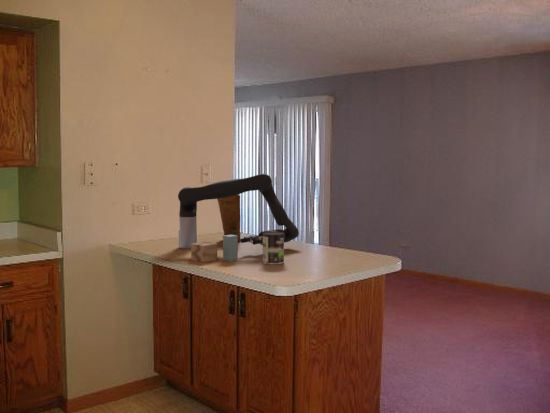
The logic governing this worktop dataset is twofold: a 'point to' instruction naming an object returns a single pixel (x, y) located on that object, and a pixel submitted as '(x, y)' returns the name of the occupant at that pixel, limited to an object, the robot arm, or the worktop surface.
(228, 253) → the post
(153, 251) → the worktop surface
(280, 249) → the coffee can
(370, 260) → the worktop surface
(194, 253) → the block
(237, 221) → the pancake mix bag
